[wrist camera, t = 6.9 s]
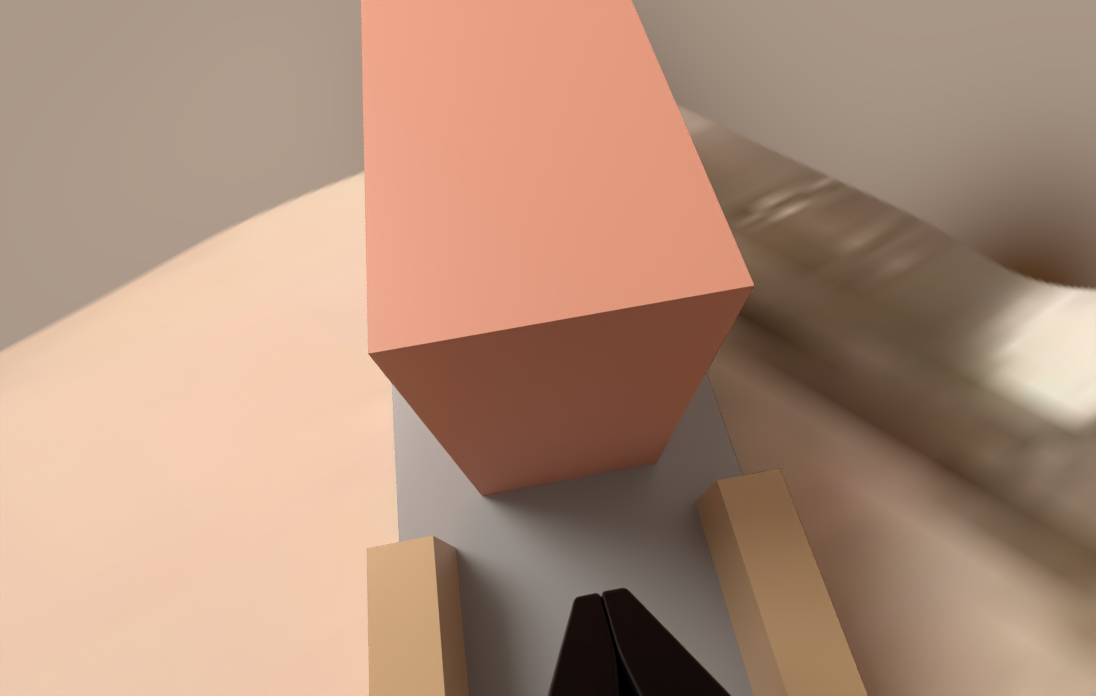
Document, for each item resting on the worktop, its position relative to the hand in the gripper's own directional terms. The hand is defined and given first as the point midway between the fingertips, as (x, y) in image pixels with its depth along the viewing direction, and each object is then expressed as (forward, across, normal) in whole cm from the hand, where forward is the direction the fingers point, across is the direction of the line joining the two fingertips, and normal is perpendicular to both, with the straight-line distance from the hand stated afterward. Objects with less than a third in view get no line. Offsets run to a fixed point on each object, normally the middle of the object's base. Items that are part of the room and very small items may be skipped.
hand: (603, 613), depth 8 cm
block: (+9, 0, -2) cm, 10 cm away
